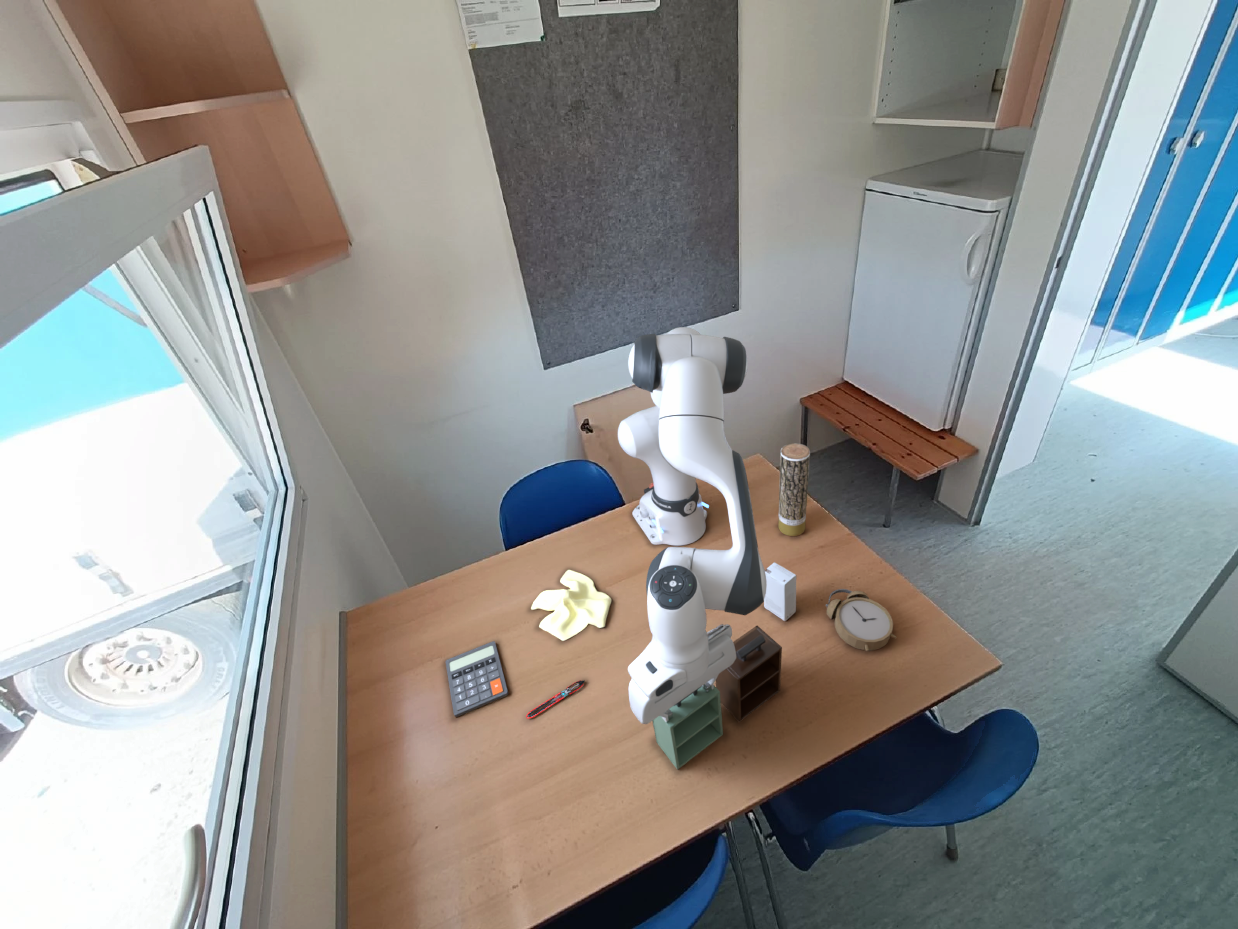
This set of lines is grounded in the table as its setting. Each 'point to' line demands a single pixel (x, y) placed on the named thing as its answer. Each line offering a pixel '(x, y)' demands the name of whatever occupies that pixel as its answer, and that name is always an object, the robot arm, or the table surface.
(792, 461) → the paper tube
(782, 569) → the cosmetic box
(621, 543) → the table surface
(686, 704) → the sage shelf
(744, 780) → the table surface
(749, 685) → the walnut shelf
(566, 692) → the pen
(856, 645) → the alarm clock
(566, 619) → the cloth
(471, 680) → the calculator
